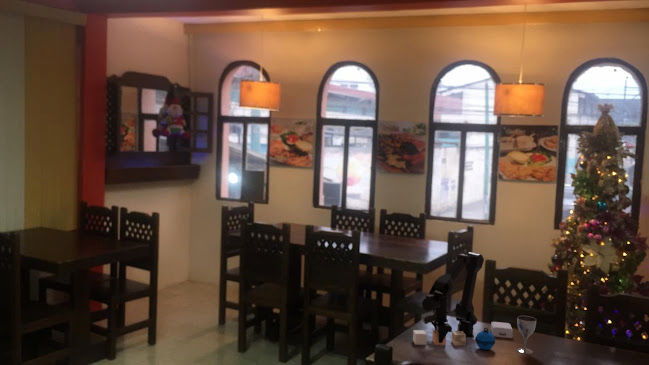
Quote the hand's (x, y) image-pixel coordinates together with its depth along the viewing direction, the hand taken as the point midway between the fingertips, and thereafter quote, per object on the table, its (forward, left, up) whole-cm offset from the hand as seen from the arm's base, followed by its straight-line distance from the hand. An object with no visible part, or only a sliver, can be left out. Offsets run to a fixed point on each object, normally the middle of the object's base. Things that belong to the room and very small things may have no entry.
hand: (438, 340), depth 278 cm
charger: (-35, -17, -2) cm, 39 cm away
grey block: (+9, 0, -1) cm, 9 cm away
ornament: (-19, +7, -1) cm, 20 cm away
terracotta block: (0, 0, -1) cm, 1 cm away
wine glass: (-37, +8, -1) cm, 38 cm away
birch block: (-9, 0, -1) cm, 9 cm away
